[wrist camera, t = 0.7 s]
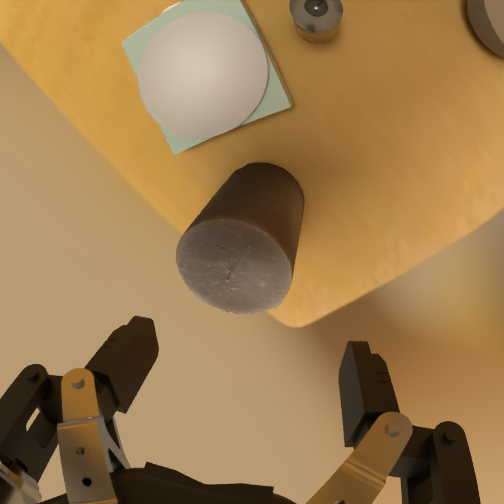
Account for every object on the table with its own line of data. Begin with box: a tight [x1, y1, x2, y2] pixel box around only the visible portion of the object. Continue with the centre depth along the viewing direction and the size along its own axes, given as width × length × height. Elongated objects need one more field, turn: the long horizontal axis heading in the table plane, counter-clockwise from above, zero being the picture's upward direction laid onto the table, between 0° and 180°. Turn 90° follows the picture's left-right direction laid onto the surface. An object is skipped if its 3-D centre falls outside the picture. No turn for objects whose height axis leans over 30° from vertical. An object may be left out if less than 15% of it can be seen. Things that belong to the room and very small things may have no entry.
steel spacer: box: [290, 0, 343, 44], centre depth 18 cm, size 4×4×8 cm
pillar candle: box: [176, 163, 304, 314], centre depth 27 cm, size 10×10×15 cm
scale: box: [121, 0, 294, 155], centre depth 23 cm, size 16×13×5 cm
